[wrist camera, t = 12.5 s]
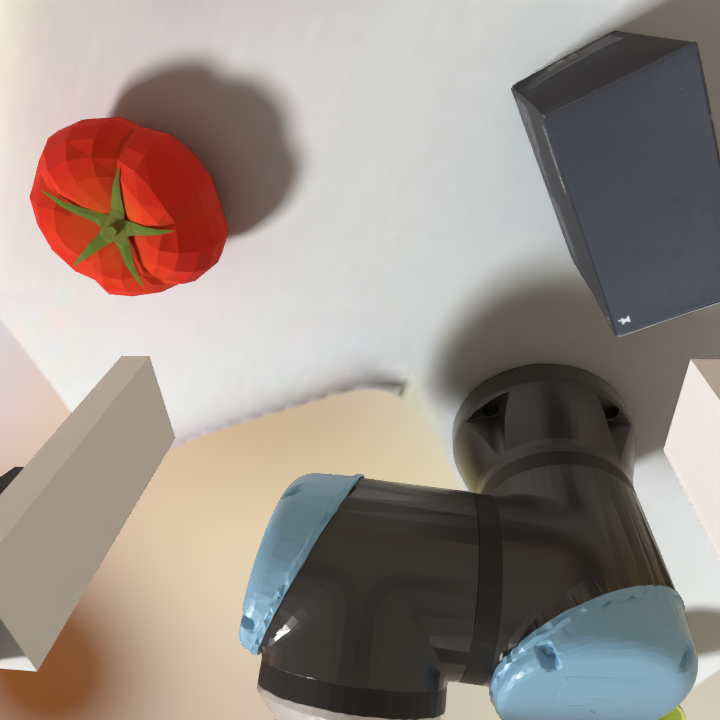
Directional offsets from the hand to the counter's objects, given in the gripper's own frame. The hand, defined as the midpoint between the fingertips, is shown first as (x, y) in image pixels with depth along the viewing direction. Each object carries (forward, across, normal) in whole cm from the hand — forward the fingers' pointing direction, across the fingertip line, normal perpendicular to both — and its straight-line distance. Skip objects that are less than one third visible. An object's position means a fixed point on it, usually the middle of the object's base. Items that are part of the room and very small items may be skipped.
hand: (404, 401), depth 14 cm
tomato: (+29, +20, +3) cm, 35 cm away
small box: (+29, -11, +1) cm, 31 cm away
